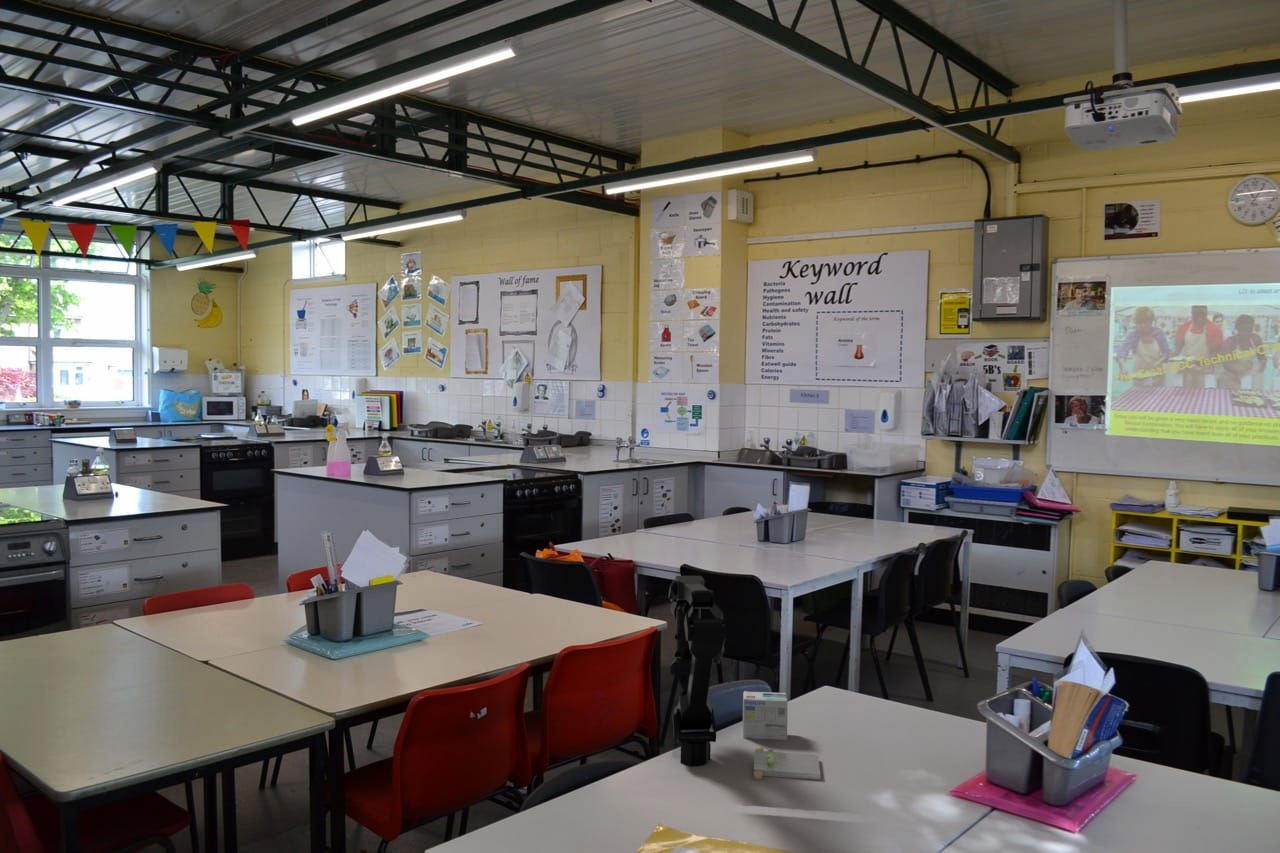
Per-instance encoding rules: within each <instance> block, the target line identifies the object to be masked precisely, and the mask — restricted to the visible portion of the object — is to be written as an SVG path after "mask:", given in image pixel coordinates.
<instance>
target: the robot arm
mask: <svg viewBox="0 0 1280 853" xmlns="http://www.w3.org/2000/svg"><path fill="white" fill-rule="evenodd" d="M706 584H707V583H706V581H705V579H704V577H703V576H702V575H676V576H675V577H674V580H672V581H671V583H670V586H669V590H668V600H670V602H671V605H670V610H671V611H670V612H671V613H672V615H673V617H674V619H675V623H676V624H675V626H676V627H675V634H674V640H675V651H674V658H675V659H673V661H672V662H671V664H670V668H669V669H670V670H669V671H670V675H673V676H676V677H677V680H678V682H679V684H680V686H681V688H682V691H681V692H680V694H679V700H678V704H677V708H675V709H674V714H672V724H673V726H672V727H673V741H676V742H677V743H678V744H680V764H682V765H685V766H688V767H690V768H693V767H703V766H705V765H707V764H708V763H709V761H710V760H711V751H712V750H711V749H712V748H711V743H712V742H713V743H716V742H717V728H716V722H715V721H716V720H715V713H714V709H713V707H712V705H711V699H710V697H709V690H710V683H711V676H712V672H713V671H712V670H713V663H714V664H718V665H719V664H720V663H721V660H722V657H723V655H724V652H725V646H724V645H725V642H726V641H727V640H728V624H727V618H726V613H725V611H724V609H723V608H722V607H721V606H720V605H719V603H717V601H716V599H715V594H714V591H713V590H711V589H708V588H707V586H706ZM702 609H703V610H704V609H707V610H708V609H710V612H711V614H712V615H713V616H714V617H715V618H702V617H701V611H702ZM702 730H703V731H702Z"/></svg>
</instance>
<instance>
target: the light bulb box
mask: <svg viewBox="0 0 1280 853" xmlns="http://www.w3.org/2000/svg"><path fill="white" fill-rule="evenodd" d="M742 738H743V739H757V740H777V741H779V740H780V741H781V740H782V741H787V740H788V697H787V693H786V692H772V691H771V692H768V691H764V692H763V691H747V690H744V691H743V698H742Z"/></svg>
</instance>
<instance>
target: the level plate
mask: <svg viewBox="0 0 1280 853" xmlns="http://www.w3.org/2000/svg"><path fill="white" fill-rule="evenodd" d="M756 770H759V771H762V772H763V776H762V777H773V778H774V777H776V778H786V779H787V778H788V779H789V778H791V779H804V780H818V781H821V769H820V760H819V755H818V754H809V753H796V752H795V753H794V752H793V753H792V752H780V751H774V750H773V749H768V750H767V751H766V750H763V751H755V750H754V759H753V772H754V771H756Z"/></svg>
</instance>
